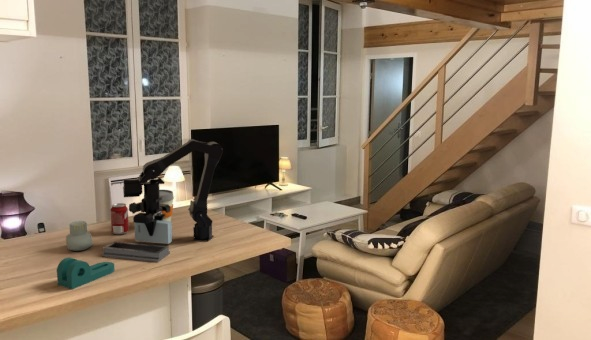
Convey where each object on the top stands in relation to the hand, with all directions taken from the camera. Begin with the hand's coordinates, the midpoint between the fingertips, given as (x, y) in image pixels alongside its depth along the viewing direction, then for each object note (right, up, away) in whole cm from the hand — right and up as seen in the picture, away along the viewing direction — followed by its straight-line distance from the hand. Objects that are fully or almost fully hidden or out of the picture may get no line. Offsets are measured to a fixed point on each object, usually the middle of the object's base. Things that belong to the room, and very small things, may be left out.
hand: (153, 234), depth 191 cm
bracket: (-11, -10, -32) cm, 35 cm away
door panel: (0, -3, 0) cm, 3 cm away
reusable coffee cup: (-4, 0, +24) cm, 24 cm away
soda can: (-18, -1, +14) cm, 22 cm away
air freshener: (-26, -5, -6) cm, 27 cm away
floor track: (-3, -6, -12) cm, 14 cm away
